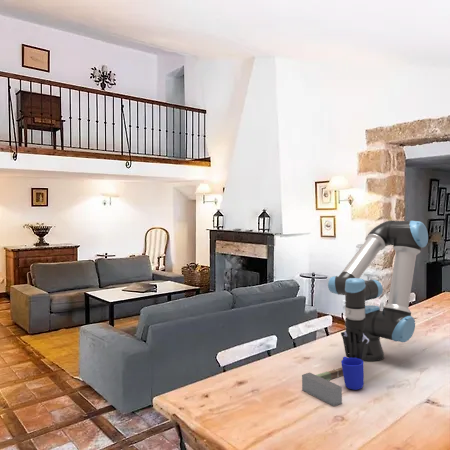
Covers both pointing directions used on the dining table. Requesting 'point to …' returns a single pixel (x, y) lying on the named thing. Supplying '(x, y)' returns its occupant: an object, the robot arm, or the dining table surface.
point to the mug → (353, 372)
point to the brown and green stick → (331, 374)
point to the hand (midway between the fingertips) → (355, 376)
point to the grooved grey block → (322, 389)
